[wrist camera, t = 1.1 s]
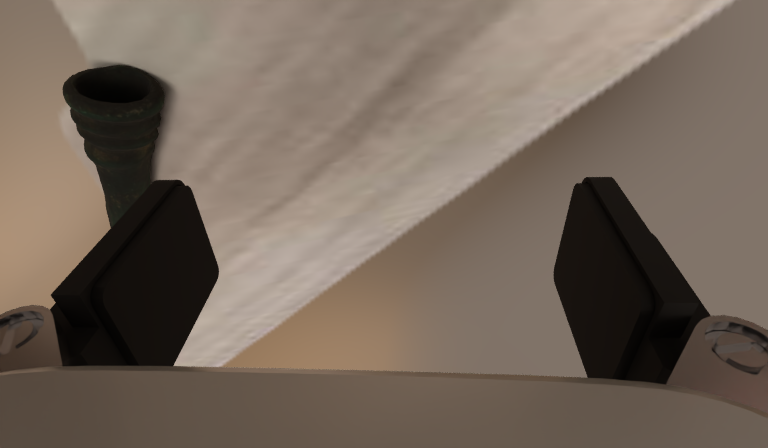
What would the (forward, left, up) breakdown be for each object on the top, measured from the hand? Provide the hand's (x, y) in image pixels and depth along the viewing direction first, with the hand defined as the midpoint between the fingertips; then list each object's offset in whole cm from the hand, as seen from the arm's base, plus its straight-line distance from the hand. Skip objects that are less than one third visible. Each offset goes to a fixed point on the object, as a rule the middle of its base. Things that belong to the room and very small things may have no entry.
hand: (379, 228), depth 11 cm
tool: (+16, -26, -27) cm, 40 cm away
